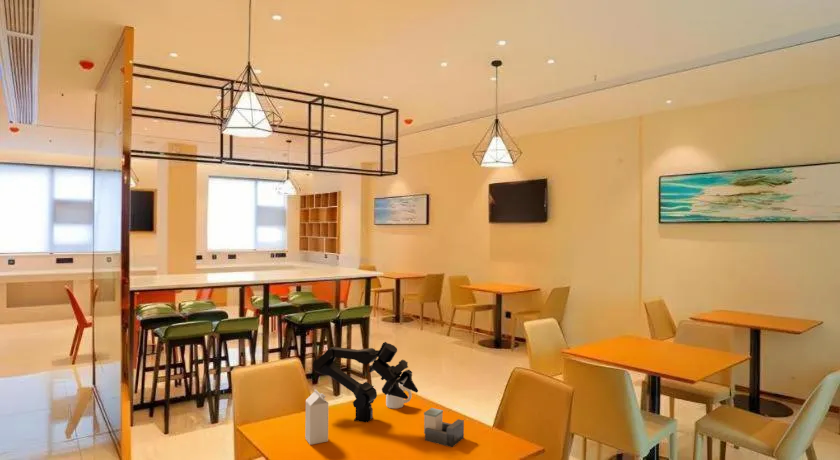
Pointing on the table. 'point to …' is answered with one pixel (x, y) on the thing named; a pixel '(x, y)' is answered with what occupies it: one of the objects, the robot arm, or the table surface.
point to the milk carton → (316, 418)
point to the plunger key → (433, 419)
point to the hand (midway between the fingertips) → (412, 394)
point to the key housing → (446, 433)
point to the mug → (397, 399)
